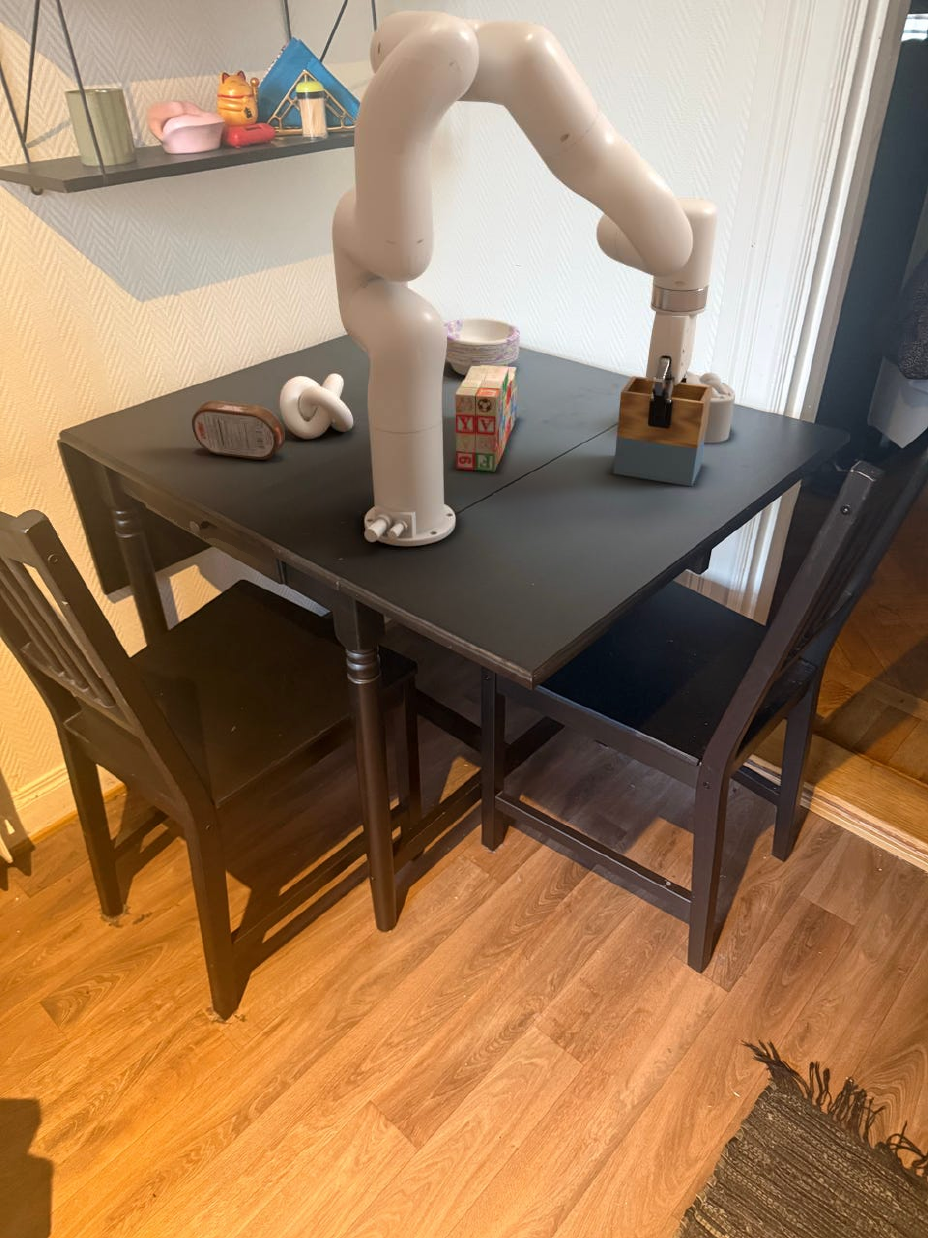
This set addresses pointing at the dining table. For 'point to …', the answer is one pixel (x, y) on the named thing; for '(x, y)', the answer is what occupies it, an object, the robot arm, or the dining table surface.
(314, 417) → the white knot sculpture
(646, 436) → the wooden basket
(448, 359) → the paper bowls
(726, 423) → the lumpy-topped squat cylinder
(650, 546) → the dining table surface
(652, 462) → the blue basket
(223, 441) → the tin
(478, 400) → the stack of blocks
